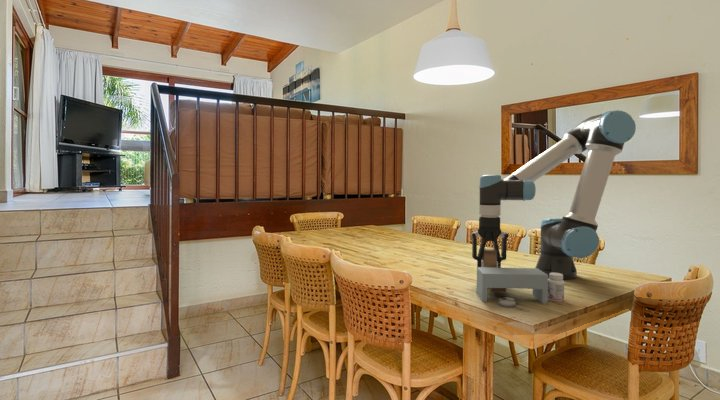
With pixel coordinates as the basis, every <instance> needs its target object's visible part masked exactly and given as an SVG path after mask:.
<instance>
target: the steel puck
mask: <svg viewBox="0 0 720 400" xmlns="http://www.w3.org/2000/svg"><path fill="white" fill-rule="evenodd" d="M498 306H499V307H502V308H506V309H514V308H517V299H515V298H513V297H509V296H502V297H499V298H498Z"/></svg>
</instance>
